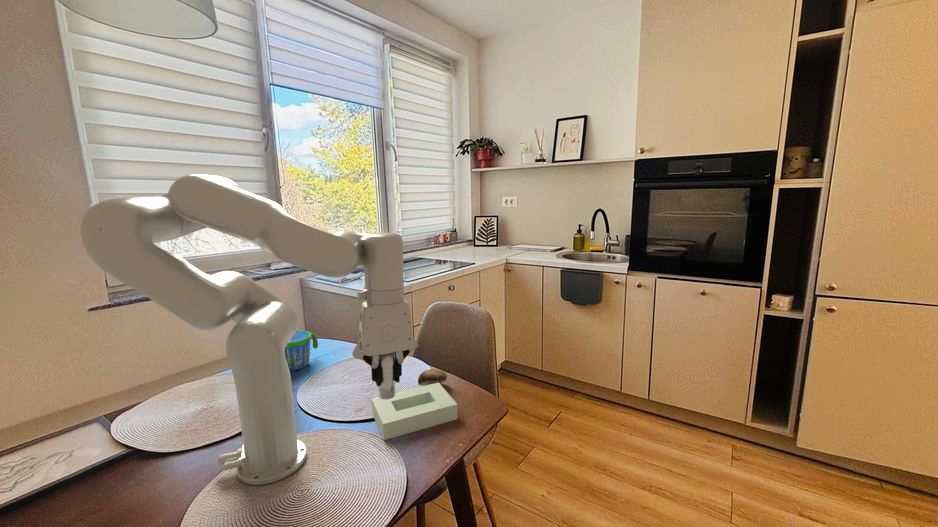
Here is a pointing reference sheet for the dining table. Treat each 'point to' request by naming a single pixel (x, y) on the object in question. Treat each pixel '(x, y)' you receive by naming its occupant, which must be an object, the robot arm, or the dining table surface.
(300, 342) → the snack cup
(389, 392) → the pin
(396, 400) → the slot block
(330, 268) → the robot arm
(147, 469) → the dining table surface
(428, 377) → the mushroom
